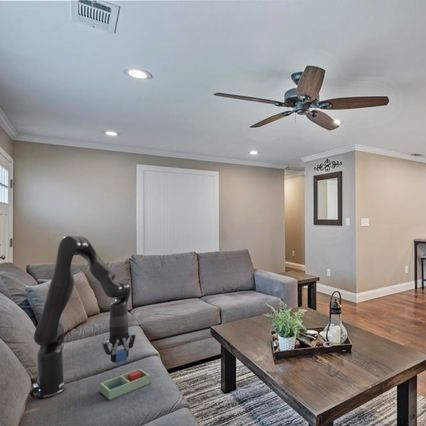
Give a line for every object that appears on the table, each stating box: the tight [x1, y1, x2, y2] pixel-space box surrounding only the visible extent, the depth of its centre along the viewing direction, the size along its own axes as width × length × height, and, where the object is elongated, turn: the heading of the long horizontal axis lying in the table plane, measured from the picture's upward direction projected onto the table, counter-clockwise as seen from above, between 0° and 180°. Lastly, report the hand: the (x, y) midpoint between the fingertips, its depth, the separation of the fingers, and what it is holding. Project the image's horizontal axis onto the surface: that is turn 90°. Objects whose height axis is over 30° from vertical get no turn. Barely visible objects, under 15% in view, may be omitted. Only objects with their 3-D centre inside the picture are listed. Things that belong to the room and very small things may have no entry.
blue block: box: [115, 348, 128, 365], centre depth 152 cm, size 4×4×4 cm
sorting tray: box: [99, 368, 151, 401], centre depth 156 cm, size 18×12×4 cm, turn 141°
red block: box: [128, 369, 141, 382], centre depth 159 cm, size 4×4×4 cm
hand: (119, 359), depth 152 cm, fingers closed on blue block, 4 cm apart
